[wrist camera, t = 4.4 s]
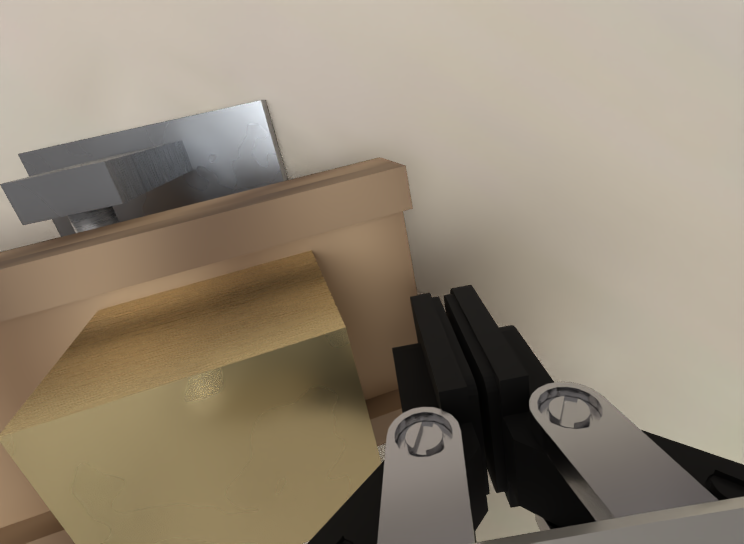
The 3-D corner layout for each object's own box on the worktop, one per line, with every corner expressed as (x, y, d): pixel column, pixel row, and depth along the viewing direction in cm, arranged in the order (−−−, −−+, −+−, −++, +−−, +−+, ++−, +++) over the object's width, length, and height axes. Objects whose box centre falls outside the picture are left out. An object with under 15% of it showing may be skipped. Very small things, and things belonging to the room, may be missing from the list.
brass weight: (311, 250, 12) (345, 327, 8) (348, 384, 14) (393, 507, 10) (97, 310, 11) (-4, 438, 7) (169, 445, 13) (126, 613, 9)
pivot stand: (355, 80, 17) (358, 71, 11) (410, 359, 23) (433, 460, 16) (-117, 184, 18) (-369, 233, 12) (48, 430, 23) (-63, 553, 17)
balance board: (379, 157, 14) (426, 172, 10) (422, 379, 17) (467, 450, 13) (-502, 377, 10) (-940, 529, 6) (-216, 602, 13) (-389, 783, 10)
